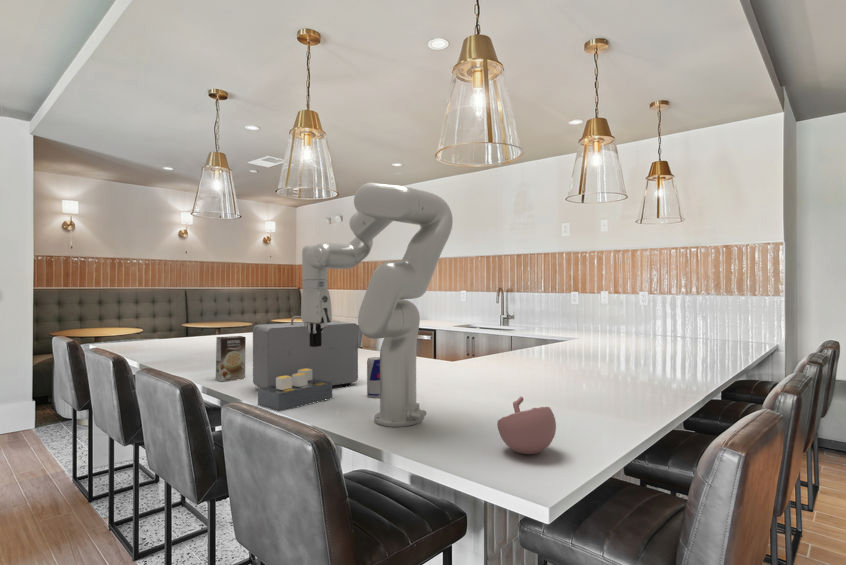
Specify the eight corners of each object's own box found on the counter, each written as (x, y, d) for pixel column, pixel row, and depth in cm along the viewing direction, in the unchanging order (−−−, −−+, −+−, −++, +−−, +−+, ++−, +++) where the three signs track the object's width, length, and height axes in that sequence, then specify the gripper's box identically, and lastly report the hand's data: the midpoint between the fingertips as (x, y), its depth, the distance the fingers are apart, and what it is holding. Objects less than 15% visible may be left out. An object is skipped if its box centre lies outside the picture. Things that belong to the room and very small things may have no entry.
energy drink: (383, 398, 146) (382, 359, 146) (366, 398, 146) (365, 359, 147) (384, 394, 152) (384, 357, 152) (368, 394, 152) (368, 357, 152)
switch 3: (307, 384, 141) (307, 373, 141) (298, 386, 139) (298, 375, 139) (301, 383, 143) (301, 372, 143) (292, 385, 140) (292, 374, 141)
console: (332, 398, 146) (332, 381, 146) (278, 411, 131) (278, 392, 131) (310, 393, 153) (310, 377, 153) (257, 405, 138) (257, 387, 138)
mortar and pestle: (529, 439, 106) (529, 389, 106) (568, 456, 96) (568, 400, 96) (486, 448, 101) (486, 395, 101) (523, 467, 90) (522, 408, 90)
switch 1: (291, 388, 137) (291, 376, 137) (281, 390, 134) (281, 378, 134) (286, 386, 139) (286, 375, 139) (276, 388, 136) (275, 377, 136)
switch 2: (312, 379, 149) (312, 369, 149) (303, 381, 146) (303, 370, 146) (306, 378, 151) (306, 368, 151) (297, 380, 148) (297, 369, 148)
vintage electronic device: (335, 377, 180) (335, 312, 180) (358, 385, 165) (357, 314, 165) (251, 388, 161) (251, 316, 161) (267, 398, 146) (267, 319, 147)
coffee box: (220, 382, 171) (220, 338, 171) (215, 379, 176) (215, 337, 176) (245, 378, 177) (245, 336, 177) (240, 376, 182) (240, 335, 182)
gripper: (340, 285, 140) (340, 347, 140) (311, 286, 150) (311, 343, 150) (319, 285, 134) (320, 349, 134) (290, 286, 144) (291, 345, 144)
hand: (315, 346), depth 142 cm, fingers closed
